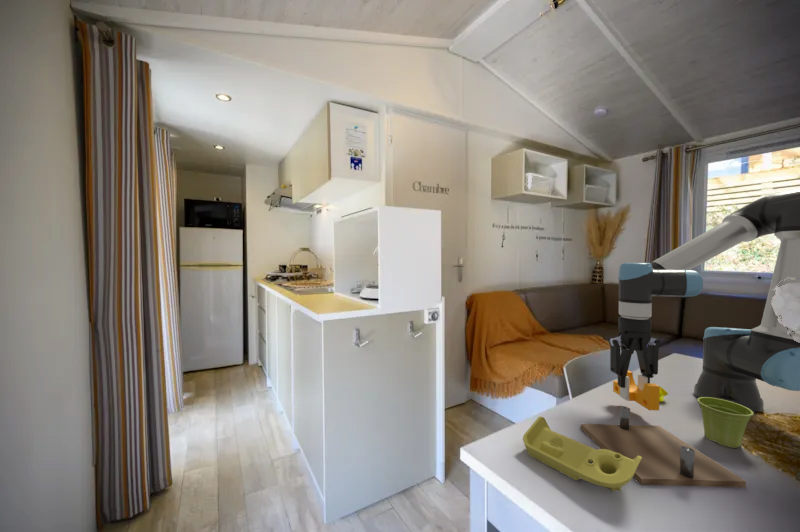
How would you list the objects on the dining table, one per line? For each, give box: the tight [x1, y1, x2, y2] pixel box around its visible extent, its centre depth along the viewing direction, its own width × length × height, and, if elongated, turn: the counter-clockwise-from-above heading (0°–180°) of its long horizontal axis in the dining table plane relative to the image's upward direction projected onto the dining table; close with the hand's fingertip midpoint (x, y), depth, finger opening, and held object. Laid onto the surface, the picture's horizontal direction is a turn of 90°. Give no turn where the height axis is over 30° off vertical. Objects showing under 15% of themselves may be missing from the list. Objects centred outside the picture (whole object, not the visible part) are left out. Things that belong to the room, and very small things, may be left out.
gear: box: [636, 384, 669, 403], centre depth 100 cm, size 8×4×8 cm
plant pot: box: [696, 397, 755, 449], centre depth 76 cm, size 9×9×9 cm
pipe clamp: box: [612, 369, 661, 411], centre depth 89 cm, size 12×4×6 cm, turn 178°
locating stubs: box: [619, 405, 695, 478], centre depth 70 cm, size 2×19×5 cm, turn 0°
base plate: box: [580, 423, 747, 488], centre depth 70 cm, size 20×20×1 cm
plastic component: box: [522, 416, 642, 492], centre depth 64 cm, size 20×8×10 cm
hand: (633, 398), depth 90 cm, fingers closed on pipe clamp, 4 cm apart
